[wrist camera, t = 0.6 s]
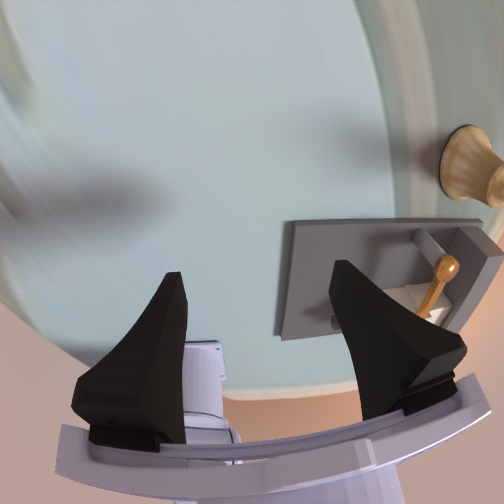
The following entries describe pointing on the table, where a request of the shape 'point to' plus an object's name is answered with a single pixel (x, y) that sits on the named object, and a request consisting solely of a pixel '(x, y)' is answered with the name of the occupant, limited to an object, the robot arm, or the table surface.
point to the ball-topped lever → (438, 283)
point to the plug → (416, 303)
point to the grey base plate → (384, 265)
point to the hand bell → (472, 168)
